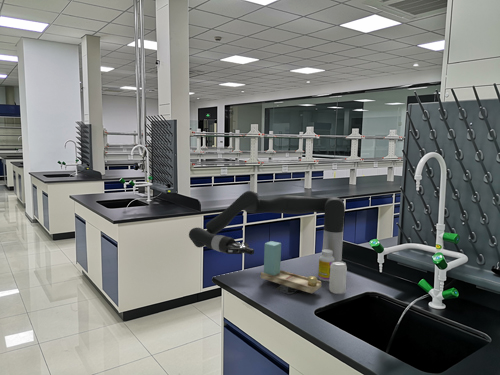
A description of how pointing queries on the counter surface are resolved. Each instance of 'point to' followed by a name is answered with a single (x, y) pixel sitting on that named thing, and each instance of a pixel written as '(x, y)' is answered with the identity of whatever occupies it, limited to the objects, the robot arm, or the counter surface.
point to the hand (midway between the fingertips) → (253, 252)
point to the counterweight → (312, 281)
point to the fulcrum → (286, 289)
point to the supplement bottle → (325, 265)
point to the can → (338, 277)
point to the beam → (291, 281)
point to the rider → (272, 258)
